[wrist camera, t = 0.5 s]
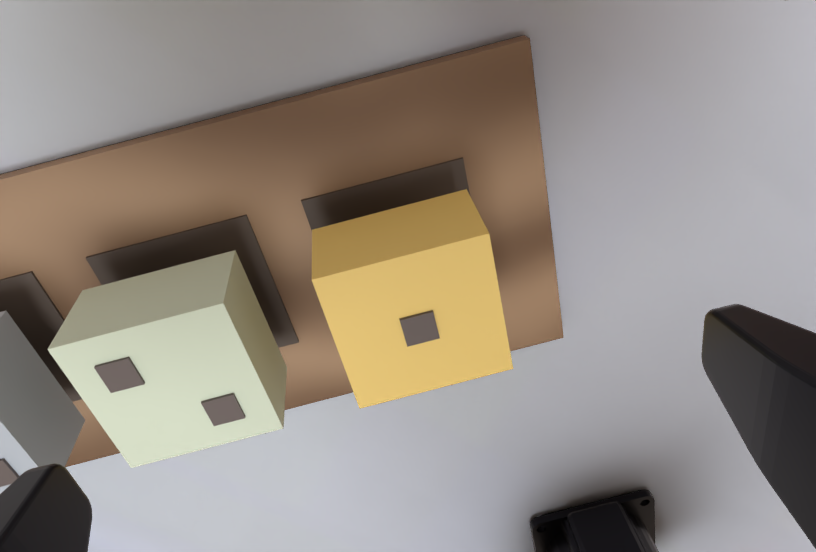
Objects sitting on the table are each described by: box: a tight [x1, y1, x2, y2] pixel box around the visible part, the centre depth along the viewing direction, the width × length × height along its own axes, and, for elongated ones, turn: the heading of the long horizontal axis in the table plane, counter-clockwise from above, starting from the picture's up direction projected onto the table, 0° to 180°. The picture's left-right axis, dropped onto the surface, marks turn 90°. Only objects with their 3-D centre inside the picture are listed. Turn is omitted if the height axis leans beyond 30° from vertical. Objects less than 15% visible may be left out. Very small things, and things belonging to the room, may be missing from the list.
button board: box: [0, 35, 563, 467], centre depth 22 cm, size 12×26×1 cm, turn 103°
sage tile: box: [47, 250, 287, 468], centre depth 19 cm, size 5×5×3 cm
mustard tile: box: [312, 189, 513, 408], centre depth 19 cm, size 5×5×3 cm
